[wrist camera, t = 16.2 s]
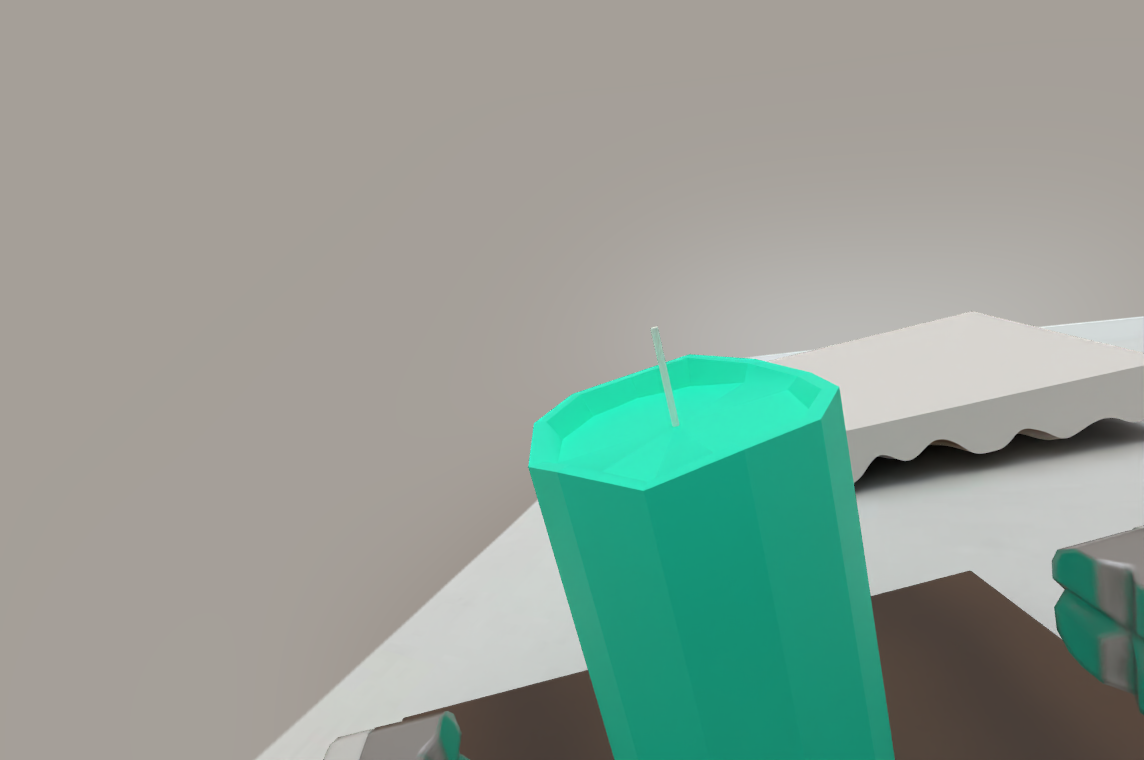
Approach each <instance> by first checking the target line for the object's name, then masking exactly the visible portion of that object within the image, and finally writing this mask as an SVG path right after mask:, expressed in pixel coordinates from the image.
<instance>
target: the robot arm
mask: <svg viewBox="0 0 1144 760" xmlns="http://www.w3.org/2000/svg"><path fill="white" fill-rule="evenodd" d="M1052 576H1053V579H1054V580H1055V581H1056V582H1057V583H1059V584H1060V585H1061V586H1062V587H1063V588H1064V589H1065V590H1064V592H1063V593H1062V595H1061V597H1060V598H1059V600H1058V602H1057V604H1056V605H1055V607H1054V608H1055V617H1056V626H1057V631H1058V632H1059V634H1060V636H1061V638H1062V640H1063V642H1064V644H1065V646H1066V647H1067V649H1068V651H1069V652H1070V654H1071V655H1072V656H1073V657H1074V658H1075V659H1076V660H1077V661H1078V663H1079V664H1080V665H1081V666H1082V667H1083V668H1084V669H1085V670H1087V671H1088V672H1089V673H1090V674H1092V675H1093V676H1094V677H1095V678H1097V679H1098V680H1099V681H1100V682H1102V683H1103V684H1106V685H1109V686H1112V687H1114V688H1117V689H1120V690H1123V691H1126V692H1128V693H1131V694H1133V695H1134V697H1135V700H1136V703H1137V706H1138V709H1139V711H1140V713H1141V714H1143V715H1144V525H1143V526H1139V527H1136V528H1134V529H1132V530H1129V531H1125V532H1121V533H1117V534H1114V535H1110V536H1106V537H1103V538H1099V539H1095V540H1092V541H1088V542H1084V543H1081V544H1077V545H1073V546H1069V547H1066V548H1062V549H1058V550H1057V552H1056V554H1055V556H1054V558H1053V560H1052ZM461 737H462V733H461V730H460V728H459V725H458V723H457V721H456V718H455V716H454V714H453V713H451V712H449V711H444V712H440V713H435V714H431V715H427V716H423V717H418V718H414V719H410V720H406V721H402V722H397V723H393V724H389V725H385V726H381V727H376V728H375V729H372V730H367V731H363V732H358V733H354V734H350V735H346V736H342V737H338V738H337V739H336V740H335V741H334V742H333V743H332V744H331V745H330V746H329V748H328V750H327V752H326V754H325V757H324V759H323V760H470V759H468V758H467V757H465V756H464V755H462V754H461V753H459V751H460V744H461Z"/></svg>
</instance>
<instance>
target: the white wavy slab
mask: <svg viewBox="0 0 1144 760" xmlns="http://www.w3.org/2000/svg"><path fill="white" fill-rule="evenodd" d="M766 362H770V363H774V364H778V365H782V366H786V367H790V368H795V369H799V370H803V371H807V372H811V373H813V374H815V375H817V376H819V377H821V378H823V379H825V380H827V381H829V382H831V383H833V384H835V385H837V386H839V388H840V394H841V401H842V408H843V414H844V421H845V428H846V435H847V441H848V448H849V455H850V461H851V468H852V475H853V482H856V481H857V480H858V479H859V478H860V477H861V476H862V475H863V474H864V472H865V471H866V469H867V467H868V466H869V465H870V463H871V462H872V461H873V460H874V459H875V458H876V457H878V456H879V457H884V458H890V459H899V460H903V461H909V460H912V459H914V458H915V457H917V456H918V455H919V454H920V453H921V452H922V451H923V450H924V449H925V448H926V447H927V446H928V445H944V446H951V447H955V448H958V449H961V450H965V451H969V452H973V453H977V454H983V453H988V452H992V451H996V450H999V449H1002V448H1003V447H1005V446H1006V445H1007V444H1008V443H1009V442H1010V441H1011V440H1012V439H1013V438H1014V436H1015V435H1016V434H1024V435H1027V436H1031V437H1034V438H1038V439H1043V440H1053V439H1061V438H1069V437H1071V436H1073V435H1075V434H1077V433H1078V432H1080V431H1081V430H1083V429H1084V428H1086V427H1087V426H1089V425H1090V424H1092V423H1094V422H1096V421H1098V420H1101V419H1104V418H1118V419H1121V420H1124V421H1127V422H1140V421H1143V420H1144V353H1142V352H1138V351H1134V350H1129V349H1125V348H1121V347H1117V346H1113V345H1109V344H1105V343H1101V342H1096V341H1092V340H1088V339H1084V338H1080V337H1076V336H1072V335H1068V334H1063V333H1059V332H1055V331H1051V330H1047V329H1043V328H1039V327H1034V326H1030V325H1026V324H1022V323H1018V322H1014V321H1010V320H1005V319H1001V318H997V317H993V316H989V315H985V314H981V313H977V312H973V311H971V312H967V313H963V314H959V315H955V316H951V317H946V318H942V319H939V320H934V321H930V322H926V323H922V324H918V325H914V326H910V327H906V328H901V329H897V330H893V331H889V332H885V333H881V334H877V335H873V336H869V337H865V338H861V339H857V340H852V341H848V342H845V343H840V344H836V345H832V346H828V347H824V348H820V349H815V350H811V351H807V352H803V353H799V354H795V355H791V356H787V357H783V358H779V359H775V360H770V361H766Z"/></svg>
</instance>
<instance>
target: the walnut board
mask: <svg viewBox="0 0 1144 760" xmlns="http://www.w3.org/2000/svg"><path fill="white" fill-rule="evenodd" d="M871 603H872V609H873V616H874V623H875V629H876V636H877V643H878V650H879V656H880V663H881V670H882V677H883V683H884V690H885V697H886V703H887V710H888V717H889V724H890V730H891V737H892V744H893V750H894V757H895V760H1144V715H1143V714H1141V713H1140V711H1139V709H1138V706H1137V703H1136V700H1135V697H1134V695H1133V694H1131V693H1128V692H1126V691H1123V690H1120V689H1117V688H1114V687H1112V686H1109V685H1106V684H1103V683H1102V682H1100V681H1099V680H1098V679H1097V678H1095V677H1094V676H1093V675H1092V674H1090V673H1089V672H1088V671H1087V670H1085V669H1084V668H1083V667H1082V666H1081V665H1080V664H1079V663H1078V661H1077V660H1076V659H1075V658H1074V657H1073V656H1072V655H1071V654H1070V652H1069V651H1068V649H1067V647H1066V646H1065V644H1064V642H1063V640H1062V639H1060V638H1059V637H1058V636H1056V635H1055V634H1054V633H1052V632H1051V631H1050V630H1049V629H1047V628H1046V627H1045V626H1043V625H1042V624H1041V623H1039V622H1038V621H1037V620H1035V619H1034V618H1033V617H1031V616H1030V615H1029V614H1027V613H1026V612H1025V611H1023V610H1022V609H1021V608H1019V607H1018V606H1017V605H1015V604H1014V603H1013V602H1011V601H1010V600H1009V599H1007V598H1006V597H1005V596H1004V595H1002V594H1001V593H1000V592H998V591H997V590H996V589H994V588H993V587H992V586H990V585H989V584H988V583H986V582H985V581H984V580H982V579H981V578H980V577H978V576H977V575H976V574H974V573H973V572H972V571H966V572H963V573H959V574H955V575H951V576H947V577H943V578H939V579H936V580H932V581H928V582H924V583H920V584H916V585H913V586H909V587H905V588H901V589H897V590H893V591H890V592H886V593H882V594H878V595H874V596H871ZM444 711H449V712H451V713H453V714H454V716H455V718H456V721H457V723H458V725H459V728H460V730H461V733H462V737H461V744H460V751H459V753H461V754H462V755H464V756H465V757H467V758H468V759H470V760H614V756H613V753H612V749H611V746H610V743H609V739H608V736H607V732H606V729H605V726H604V722H603V719H602V715H601V712H600V709H599V705H598V702H597V698H596V695H595V692H594V688H593V685H592V681H591V678H590V675H589V671H588V670H586V671H582V672H578V673H575V674H571V675H567V676H563V677H559V678H555V679H552V680H548V681H544V682H540V683H536V684H532V685H528V686H525V687H521V688H517V689H513V690H509V691H505V692H502V693H498V694H494V695H490V696H486V697H482V698H479V699H475V700H471V701H467V702H463V703H459V704H456V705H452V706H448V707H444V708H440V709H436V710H432V711H429V712H425V713H421V714H417V715H413V716H409V717H406V718H403V720H402V721H406V720H410V719H414V718H418V717H423V716H427V715H431V714H435V713H440V712H444Z"/></svg>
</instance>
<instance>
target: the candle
mask: <svg viewBox="0 0 1144 760" xmlns="http://www.w3.org/2000/svg"><path fill="white" fill-rule="evenodd" d="M651 333H652V338H653V342H654V347H655V351H656V356H657V360H658V364H659V365H656V366H654V367H651V368H648V369H645V370H642V371H639V372H636V373H633V374H630V375H627V376H624V377H621V378H618V379H615V380H613V381H609V382H606V383H604V384H600V385H598V386H595V387H592V388H589V389H586V390H583V391H580V392H577V393H574V394H572V395H571V396H569V397H568V398H566V399H565V400H564V401H563V402H561V403H560V404H559V405H557V406H556V407H555V408H553V409H552V410H551V411H549V412H548V413H547V414H546V415H544V416H543V417H542V418H540V419H539V420H538V421H536V422H535V423H534V427H533V436H532V443H531V451H530V458H529V466H528V468H529V471H530V474H531V477H532V481H533V485H534V488H535V491H536V495H537V498H538V502H539V505H540V508H541V512H542V515H543V519H544V522H545V525H546V529H547V532H548V535H549V539H550V542H551V546H552V549H553V552H554V556H555V559H556V563H557V566H558V569H559V573H560V576H561V580H562V583H563V586H564V590H565V593H566V597H567V600H568V603H569V607H570V610H571V614H572V617H573V620H574V624H575V627H576V631H577V634H578V637H579V641H580V644H581V648H582V651H583V654H584V658H585V661H586V664H587V668H588V671H589V675H590V678H591V681H592V685H593V688H594V692H595V695H596V698H597V702H598V705H599V709H600V712H601V715H602V719H603V722H604V726H605V729H606V732H607V736H608V739H609V743H610V746H611V749H612V753H613V756H614V760H895V757H894V750H893V744H892V737H891V730H890V724H889V717H888V710H887V703H886V697H885V690H884V683H883V677H882V670H881V663H880V656H879V650H878V643H877V636H876V629H875V623H874V616H873V609H872V603H871V596H870V589H869V582H868V576H867V569H866V562H865V556H864V549H863V542H862V535H861V529H860V522H859V515H858V508H857V502H856V495H855V488H854V482H853V475H852V468H851V461H850V455H849V448H848V441H847V435H846V428H845V421H844V414H843V408H842V401H841V394H840V388H839V386H837V385H835V384H833V383H831V382H829V381H827V380H825V379H823V378H821V377H819V376H817V375H815V374H813V373H811V372H807V371H803V370H799V369H795V368H790V367H786V366H782V365H778V364H774V363H770V362H765V361H761V360H757V359H748V358H733V357H718V356H705V355H691V354H689V355H686V356H683V357H680V358H677V359H674V360H671V361H668V362H665V357H664V353H663V348H662V344H661V340H660V335H659V330H658V327H652V328H651Z"/></svg>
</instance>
